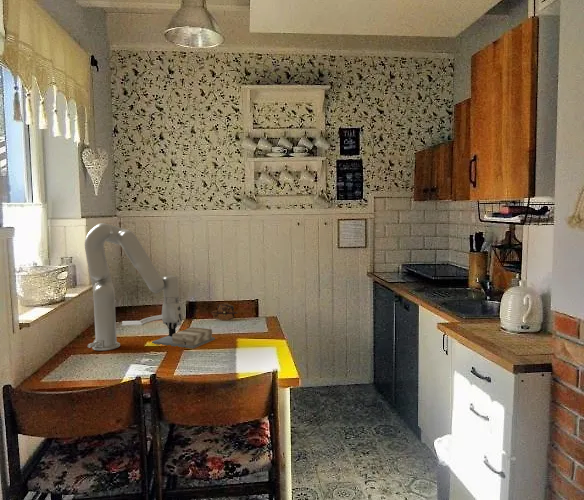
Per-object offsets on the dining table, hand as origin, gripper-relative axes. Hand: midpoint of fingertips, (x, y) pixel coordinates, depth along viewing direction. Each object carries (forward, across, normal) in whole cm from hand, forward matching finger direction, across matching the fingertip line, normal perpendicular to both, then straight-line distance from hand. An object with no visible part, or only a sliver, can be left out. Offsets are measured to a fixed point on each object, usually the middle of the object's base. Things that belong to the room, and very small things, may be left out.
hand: (172, 335), depth 252 cm
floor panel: (+2, -7, 0) cm, 7 cm away
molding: (+3, +43, -35) cm, 56 cm away
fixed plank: (+2, -15, 0) cm, 16 cm away
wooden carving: (+2, +1, -49) cm, 49 cm away
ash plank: (+1, -9, 0) cm, 9 cm away
